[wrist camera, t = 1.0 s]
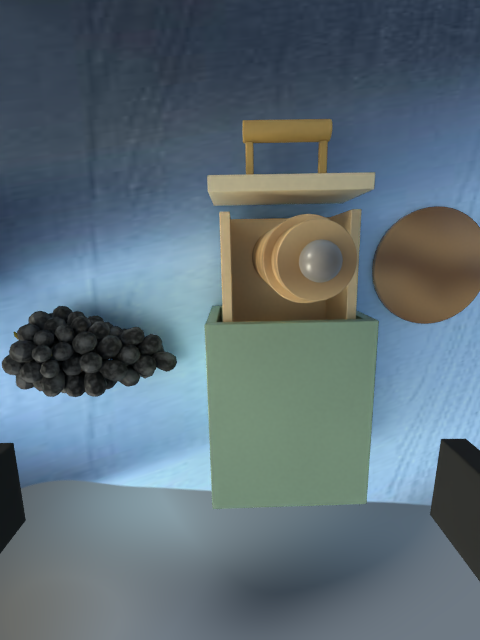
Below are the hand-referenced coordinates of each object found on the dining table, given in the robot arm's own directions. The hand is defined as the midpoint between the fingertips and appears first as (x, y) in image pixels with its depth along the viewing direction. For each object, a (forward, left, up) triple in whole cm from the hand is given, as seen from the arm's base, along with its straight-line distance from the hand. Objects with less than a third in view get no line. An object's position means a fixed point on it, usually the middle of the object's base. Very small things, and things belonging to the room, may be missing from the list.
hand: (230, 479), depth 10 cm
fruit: (+3, -13, -26) cm, 29 cm away
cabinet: (+7, +5, -26) cm, 27 cm away
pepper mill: (-6, +5, -23) cm, 25 cm away
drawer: (-7, +5, -25) cm, 26 cm away
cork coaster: (-5, +21, -26) cm, 33 cm away
